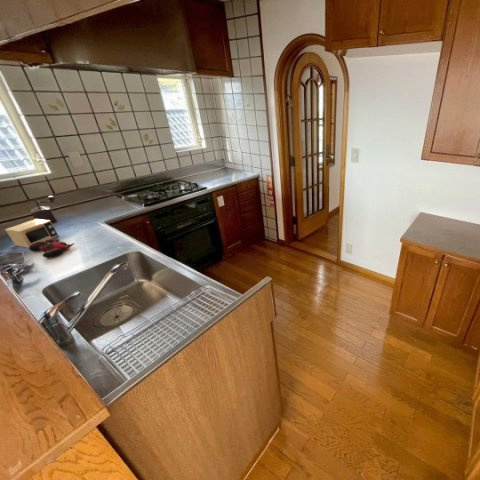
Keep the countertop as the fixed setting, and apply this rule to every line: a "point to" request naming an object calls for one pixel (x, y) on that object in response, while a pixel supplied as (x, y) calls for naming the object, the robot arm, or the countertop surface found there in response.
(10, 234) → the mini oven
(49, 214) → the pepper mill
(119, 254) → the countertop surface
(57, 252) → the toy motorcycle
